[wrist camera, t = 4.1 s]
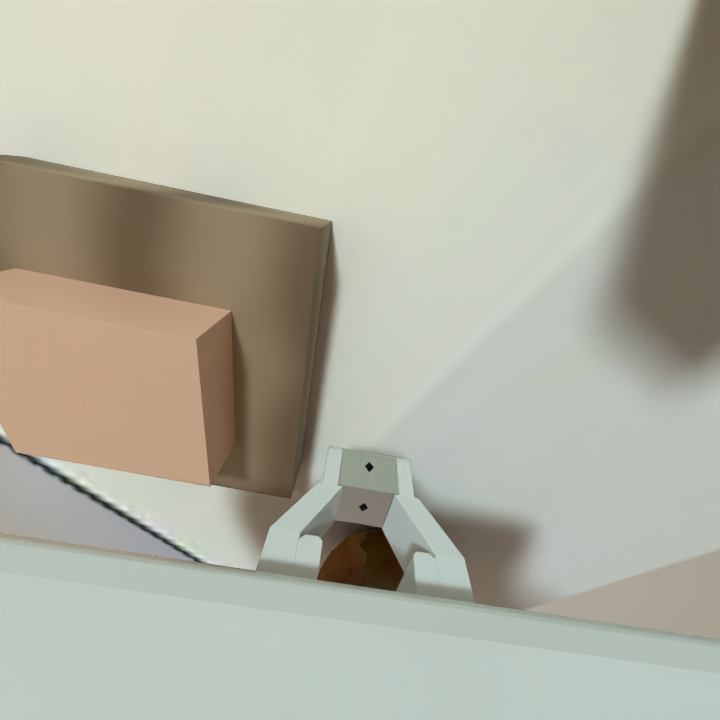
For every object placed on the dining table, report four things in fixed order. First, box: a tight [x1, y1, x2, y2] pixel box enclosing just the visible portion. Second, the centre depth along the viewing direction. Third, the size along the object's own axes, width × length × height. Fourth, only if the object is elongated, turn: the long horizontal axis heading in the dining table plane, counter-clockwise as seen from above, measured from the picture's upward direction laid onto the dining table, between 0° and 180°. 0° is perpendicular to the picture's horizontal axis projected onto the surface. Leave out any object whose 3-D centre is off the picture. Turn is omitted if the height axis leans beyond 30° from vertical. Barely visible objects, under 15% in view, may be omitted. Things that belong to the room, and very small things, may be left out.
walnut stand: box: [0, 155, 332, 499], centre depth 14 cm, size 12×14×2 cm
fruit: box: [317, 529, 405, 591], centre depth 19 cm, size 8×8×8 cm
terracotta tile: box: [0, 268, 235, 487], centre depth 12 cm, size 8×7×2 cm
